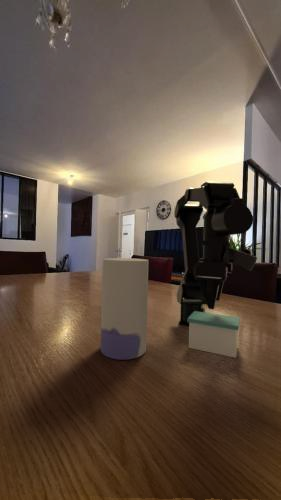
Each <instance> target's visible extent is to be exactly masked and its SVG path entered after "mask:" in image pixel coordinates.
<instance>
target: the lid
mask: <svg viewBox="0 0 281 500" xmlns="http://www.w3.org/2000/svg"><path fill="white" fill-rule="evenodd" d="M240 319H241V317H240V316H232V315H226V314H218V313H210V312H206V311H205V312H198V311H194V312H193V313H192V314H191V315H190V316H189V317H188V318H187V322H191V323H197V324H203V325H209V326H215V327H221V328H227V329H233V330H238V331H239V328H240V327H239V326H240V321H241V320H240Z"/></svg>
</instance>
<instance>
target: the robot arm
mask: <svg viewBox="0 0 281 500" xmlns="http://www.w3.org/2000/svg"><path fill="white" fill-rule="evenodd" d="M188 202H192V203H193V202H195V203H199V204H198V205H197V204H188ZM204 210H206V212H205V213H203V212H204ZM173 216H174V218H175V221H176V226H177V227H178V228H179V229H180V230H181V234H182V236H181V237H182V248H183V261H184V274H183V275H182V277H181V278H180V284H179V286H178V289H177V292H176V301H177V303H179V305H180V315H179V316H180V320H179V321H178V324H179V325H185V326H189V322H187V318H188V317H189V316H190V315H191V314H192V313H193V312H194V311H198V312H205V313H206V309H205V307H204V305H206V306H207V308H208V310H214V309H215V307H216V306H215V305H216V302H217V301H218V302H219V301H220V300H221V295H222V291H223V287H224V283H225V281H226V280H227V278H228V277H230V275H231V274H232V271H233V265H237V266H239V267H242V268H243V269H244V270H246V271H248V272H252V271H253V268H254V267H255V263H256V261H257V260H258V257H257V256H255V255H252V250H250V249H247V248H243V249H242V250H238V249H236V248H235V249H234V248H232V242H231V241H230V236H234V235H240V234H241V235H242V234H245V233H247V232H248V231H249V230H250V229H251V227H252V226H253V224H254V215H253V214H252V211H251V209H250V208H249V207H248V206H246V205H245V204H244V198H243V197H242V198H241V197H240V194H239V193H238V190H237V188H236V187H235V184H234V182H226V181H205V182H203V183H202V184H200V187H195V188H194V187H189V188H186V190H185V192H184V194H183V196H181V197H180V198H179V199H178V200H177V201H176V204H175V208H174V215H173ZM201 217H202V219H203V235H202V237H203V238H202V239H203V240H201V243H200V244H201V246H202V258H201V259H200V253H199V243H198V233H197V225H198V223H199V222H200V220H201Z"/></svg>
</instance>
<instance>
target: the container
mask: <svg viewBox="0 0 281 500" xmlns="http://www.w3.org/2000/svg"><path fill="white" fill-rule="evenodd" d="M101 276H102V285H101V313H100V314H101V315H100V316H101V318H100V320H101V321H100V353H101V354H102V355H103V356H104V357H107V358H110V359H112V360H113V359H114V360H120V361H121V360H122V361H123V360H124V361H125V360H133V359H137V358H140V357H141V356H143V355H144V354H146V351H147V335H148V334H147V333H148V331H147V330H148V329H147V328H148V300H149V299H148V295H149V294H148V293H149V292H148V291H149V259H144V258H132V257H131V258H130V257H126V258H125V257H117V258H116V257H114V258H113V257H112V258H110V257H108V258H103V260H102V275H101Z"/></svg>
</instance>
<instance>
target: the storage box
mask: <svg viewBox="0 0 281 500" xmlns="http://www.w3.org/2000/svg"><path fill="white" fill-rule="evenodd" d="M238 336H239V329H238V330H233V329H227V328H221V327H215V326H209V325H203V324H197V323H191V322H189V325H188V348H189V349H192V350H198V351H203V352H207V353H210V354H211V353H213V354H216V355H222V356H225V357H231V358H237V354H238V346H239V345H238V344H239V343H238V340H239V339H238V338H239V337H238Z"/></svg>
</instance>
